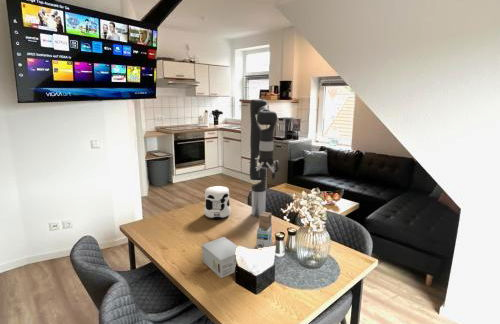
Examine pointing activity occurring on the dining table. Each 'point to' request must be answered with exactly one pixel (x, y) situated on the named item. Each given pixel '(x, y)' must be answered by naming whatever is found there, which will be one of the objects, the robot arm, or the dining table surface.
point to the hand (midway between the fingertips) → (265, 178)
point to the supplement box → (220, 256)
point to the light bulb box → (264, 237)
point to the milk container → (217, 202)
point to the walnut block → (265, 220)
